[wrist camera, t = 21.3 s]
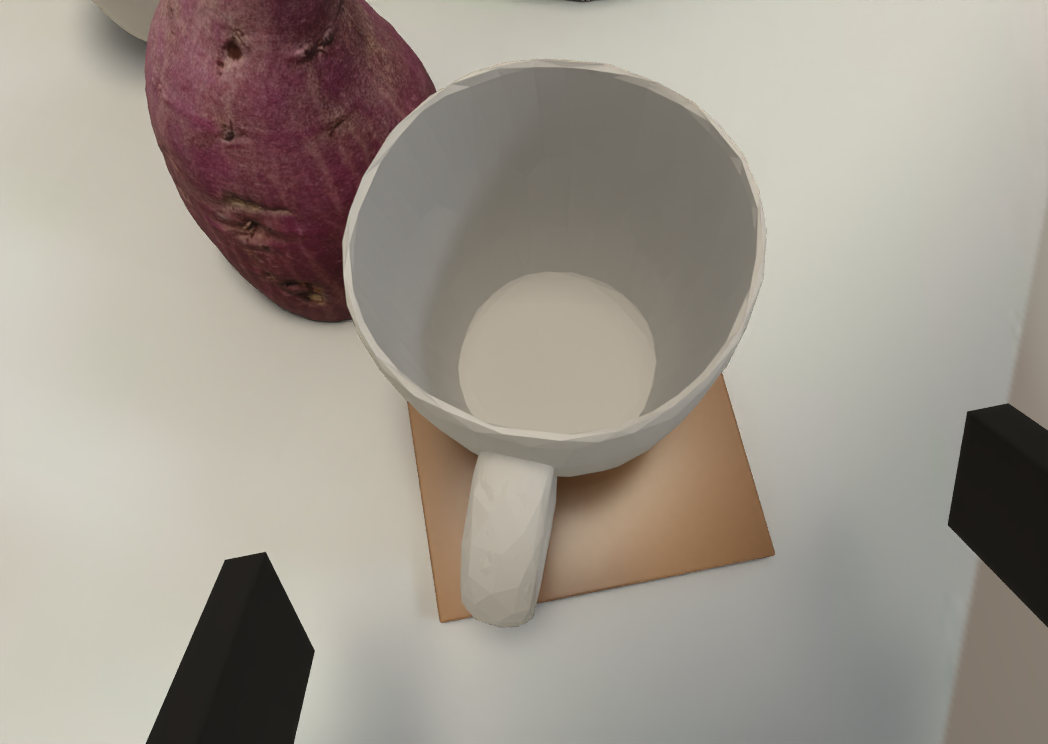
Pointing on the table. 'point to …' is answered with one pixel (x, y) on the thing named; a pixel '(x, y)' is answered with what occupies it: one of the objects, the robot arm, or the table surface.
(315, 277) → the vegetable
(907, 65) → the table surface
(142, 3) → the cup
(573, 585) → the mat
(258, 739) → the robot arm
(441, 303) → the mug
